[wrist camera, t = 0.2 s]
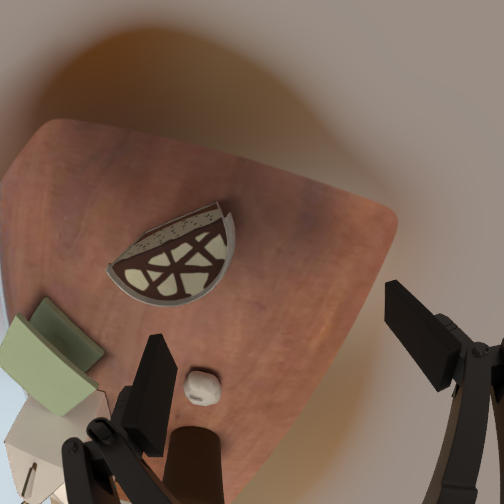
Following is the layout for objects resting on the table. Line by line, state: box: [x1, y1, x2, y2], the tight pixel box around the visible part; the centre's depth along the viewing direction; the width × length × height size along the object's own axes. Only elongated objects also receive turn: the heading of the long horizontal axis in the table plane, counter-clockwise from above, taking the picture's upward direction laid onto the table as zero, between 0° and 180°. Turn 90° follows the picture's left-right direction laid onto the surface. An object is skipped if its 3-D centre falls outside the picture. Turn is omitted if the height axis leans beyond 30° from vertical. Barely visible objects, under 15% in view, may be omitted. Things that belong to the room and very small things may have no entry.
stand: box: [0, 296, 105, 416], centre depth 34 cm, size 14×14×8 cm
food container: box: [106, 201, 235, 307], centre depth 29 cm, size 12×6×10 cm, turn 111°
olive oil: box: [162, 427, 225, 504], centre depth 35 cm, size 11×11×25 cm
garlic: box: [183, 371, 221, 406], centre depth 38 cm, size 6×5×5 cm
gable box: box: [4, 390, 115, 504], centre depth 31 cm, size 22×13×28 cm, turn 170°
